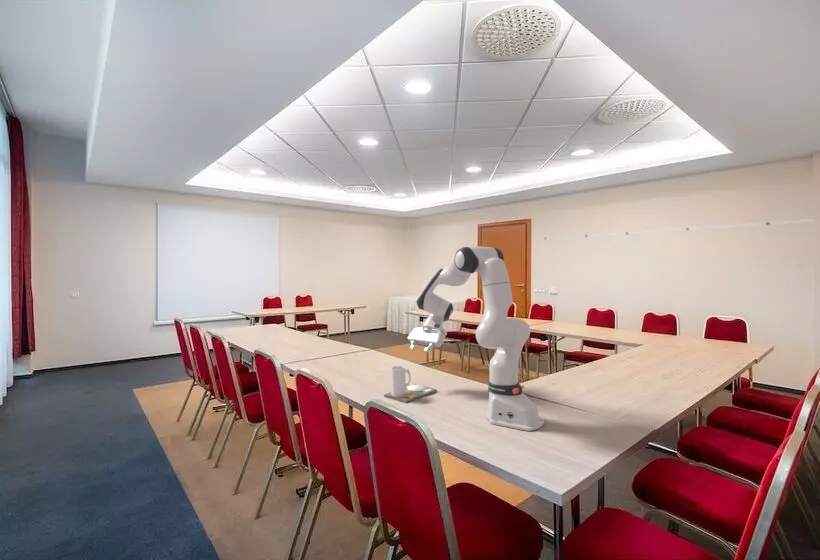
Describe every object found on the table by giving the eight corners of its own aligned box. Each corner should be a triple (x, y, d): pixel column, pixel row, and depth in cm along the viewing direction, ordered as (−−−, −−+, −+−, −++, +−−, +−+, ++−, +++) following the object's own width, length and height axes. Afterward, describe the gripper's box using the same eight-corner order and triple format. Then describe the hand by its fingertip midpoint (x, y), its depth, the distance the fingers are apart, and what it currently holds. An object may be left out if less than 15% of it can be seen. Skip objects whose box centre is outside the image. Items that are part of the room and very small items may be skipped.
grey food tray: (437, 391, 191) (437, 387, 190) (406, 403, 174) (406, 399, 174) (415, 386, 200) (415, 382, 200) (384, 396, 184) (384, 392, 184)
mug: (395, 396, 179) (395, 370, 178) (388, 392, 184) (388, 367, 184) (414, 392, 184) (414, 367, 184) (407, 389, 189) (406, 364, 189)
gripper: (412, 322, 204) (400, 344, 197) (444, 326, 191) (431, 349, 184) (418, 330, 208) (406, 351, 201) (449, 334, 194) (437, 357, 187)
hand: (418, 350), depth 192 cm, fingers open, 8 cm apart
